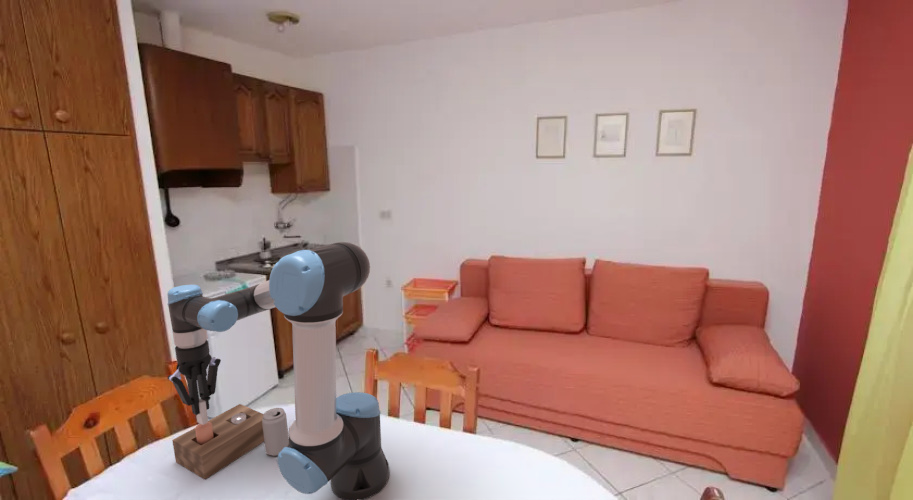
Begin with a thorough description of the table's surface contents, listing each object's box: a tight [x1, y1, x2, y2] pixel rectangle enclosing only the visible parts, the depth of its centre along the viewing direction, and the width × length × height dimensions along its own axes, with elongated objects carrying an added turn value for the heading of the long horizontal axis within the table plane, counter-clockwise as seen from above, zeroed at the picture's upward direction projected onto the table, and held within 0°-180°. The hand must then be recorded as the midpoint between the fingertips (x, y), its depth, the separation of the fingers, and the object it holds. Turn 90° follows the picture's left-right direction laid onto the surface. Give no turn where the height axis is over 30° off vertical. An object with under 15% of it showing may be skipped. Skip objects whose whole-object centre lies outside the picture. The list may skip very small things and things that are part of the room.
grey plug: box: [231, 413, 246, 425], centre depth 123 cm, size 4×4×6 cm
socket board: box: [172, 403, 265, 480], centre depth 119 cm, size 14×20×7 cm
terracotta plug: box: [194, 422, 214, 445], centre depth 114 cm, size 4×4×6 cm
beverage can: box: [262, 407, 289, 457], centre depth 118 cm, size 6×6×12 cm
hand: (202, 422), depth 113 cm, fingers closed
